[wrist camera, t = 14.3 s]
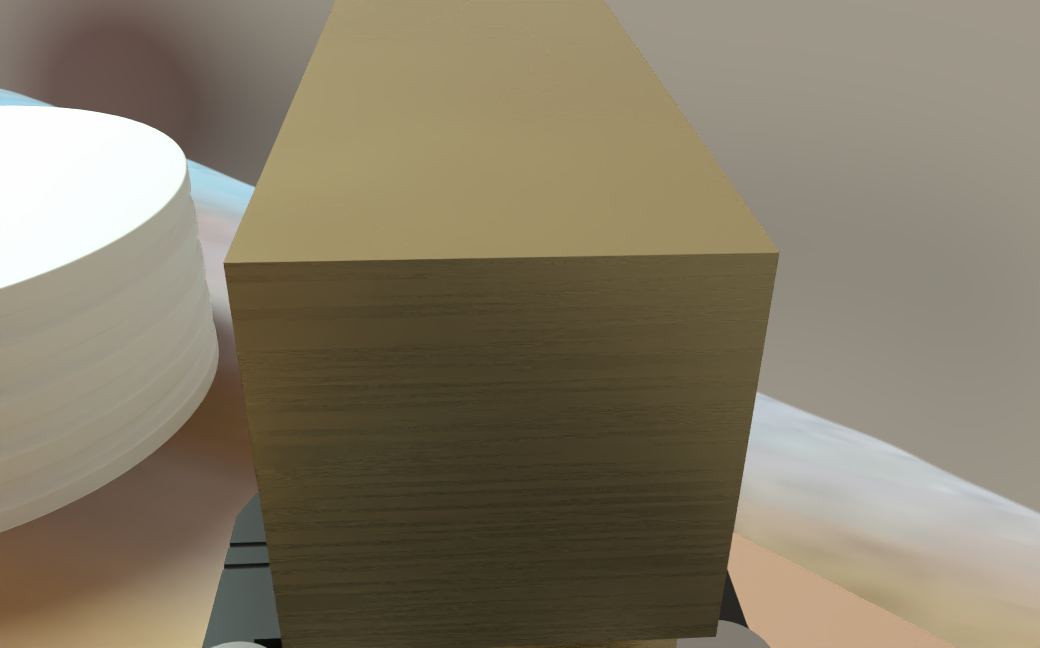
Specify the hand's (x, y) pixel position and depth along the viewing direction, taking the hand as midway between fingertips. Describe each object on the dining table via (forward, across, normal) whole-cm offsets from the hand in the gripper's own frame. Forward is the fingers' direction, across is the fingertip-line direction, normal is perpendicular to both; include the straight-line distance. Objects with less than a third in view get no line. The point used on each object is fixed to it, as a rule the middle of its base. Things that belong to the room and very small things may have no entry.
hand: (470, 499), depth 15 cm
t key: (-3, 0, +10) cm, 10 cm away
